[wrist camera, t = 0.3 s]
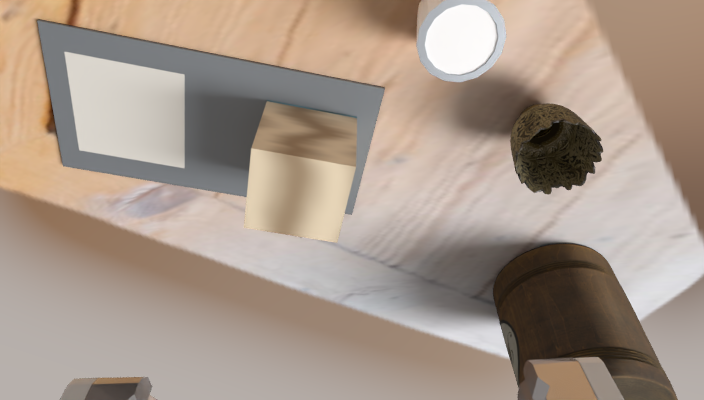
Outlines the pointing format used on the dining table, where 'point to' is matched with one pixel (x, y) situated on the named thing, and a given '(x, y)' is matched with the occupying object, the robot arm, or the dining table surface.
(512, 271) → the wooden container
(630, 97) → the dining table surface
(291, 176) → the maple cube
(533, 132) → the cup
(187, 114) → the charcoal mat
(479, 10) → the white cylindrical piece
